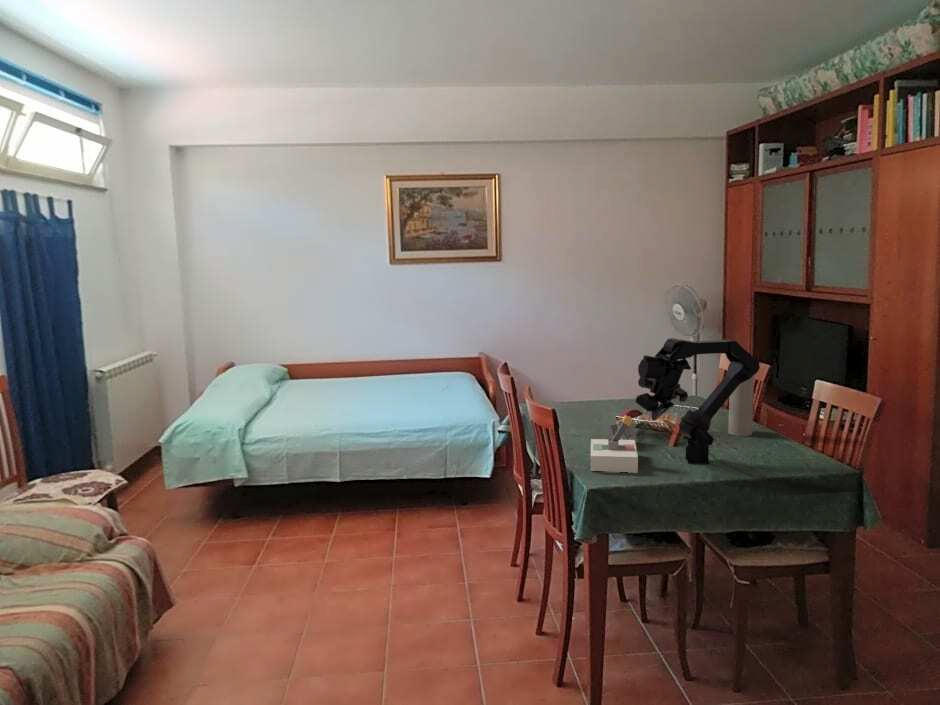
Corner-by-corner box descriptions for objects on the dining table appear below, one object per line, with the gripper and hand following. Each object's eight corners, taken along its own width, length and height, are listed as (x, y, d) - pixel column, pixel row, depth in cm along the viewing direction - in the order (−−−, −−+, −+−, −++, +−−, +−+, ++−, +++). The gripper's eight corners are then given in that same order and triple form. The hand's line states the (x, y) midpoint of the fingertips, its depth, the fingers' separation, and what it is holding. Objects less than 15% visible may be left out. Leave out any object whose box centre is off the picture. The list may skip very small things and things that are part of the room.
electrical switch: (625, 449, 239) (622, 422, 238) (611, 448, 242) (609, 421, 241) (637, 442, 246) (635, 416, 245) (624, 441, 249) (621, 415, 248)
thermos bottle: (751, 430, 256) (754, 353, 251) (752, 436, 248) (755, 357, 244) (728, 429, 258) (730, 353, 254) (728, 435, 251) (730, 356, 246)
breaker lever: (615, 446, 226) (632, 418, 223) (615, 449, 223) (632, 421, 220) (608, 442, 226) (625, 414, 224) (608, 445, 223) (625, 417, 220)
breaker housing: (634, 454, 233) (634, 432, 231) (637, 472, 215) (637, 448, 214) (591, 453, 235) (590, 431, 234) (590, 471, 218) (590, 447, 216)
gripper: (669, 360, 230) (653, 400, 237) (630, 369, 219) (615, 411, 226) (696, 378, 222) (679, 419, 230) (657, 389, 211) (641, 431, 219)
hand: (653, 419), depth 226 cm, fingers closed
